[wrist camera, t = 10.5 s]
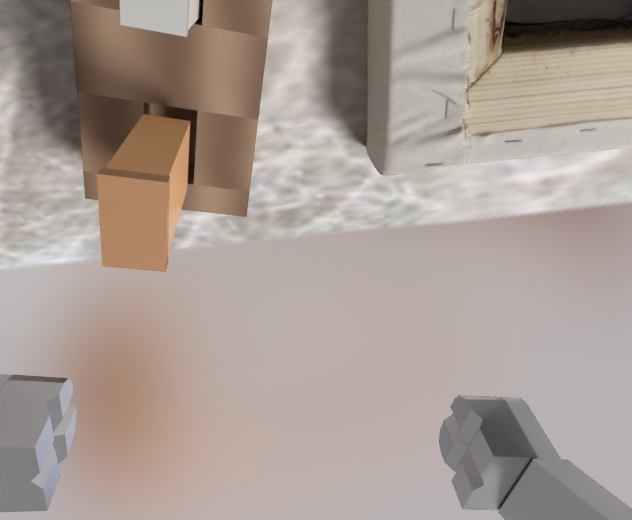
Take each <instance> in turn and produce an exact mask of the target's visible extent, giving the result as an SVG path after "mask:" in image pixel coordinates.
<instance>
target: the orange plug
mask: <svg viewBox="0 0 632 520" xmlns="http://www.w3.org/2000/svg"><path fill="white" fill-rule="evenodd" d="M189 138H190V121H186V120H180V119H173V118H166V117H159V116H153V115H146V114H143V115H142V117H141V118H140V119H139V121H138V122H137V124H136V125H135V127H134V128H133V129H132V131H131V132H130V134H129V135H128V136H127V138H126V139H125V141H124V142H123V143H122V145H121V146H120V148H119V149H118V151H117V152H116V153H115V155H114V156H113V158H112V159H111V160H110V162H109V163H108V165H107V166H106V167H105V168H101V169H100V170H99V172H98V173H97V183H98V200H99V217H100V233H101V250H102V266H107V267H118V268H130V269H140V270H151V271H163V272H166V269H167V265H168V253H169V250H170V247H171V243H172V240H173V236H174V233H175V230H176V226H177V223H178V219H179V216H180V212H181V209H182V205H183V202H184V199H185V195H186V192H187V181H188V160H189Z"/></svg>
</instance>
